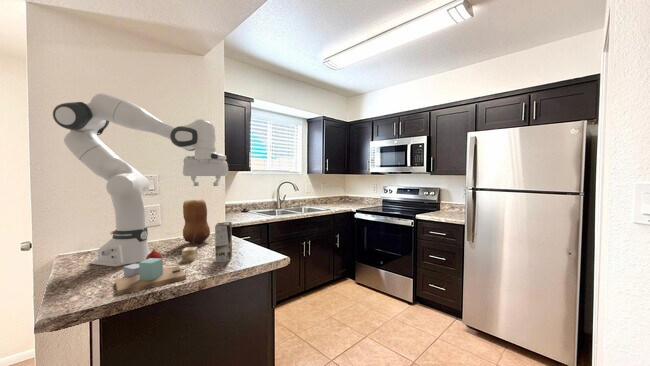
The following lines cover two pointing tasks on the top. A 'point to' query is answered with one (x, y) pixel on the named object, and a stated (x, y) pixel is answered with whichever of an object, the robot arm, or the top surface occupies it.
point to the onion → (154, 255)
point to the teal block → (150, 269)
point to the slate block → (131, 270)
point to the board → (137, 284)
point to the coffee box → (223, 242)
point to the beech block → (189, 254)
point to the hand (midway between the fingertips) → (205, 186)
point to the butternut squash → (195, 221)
